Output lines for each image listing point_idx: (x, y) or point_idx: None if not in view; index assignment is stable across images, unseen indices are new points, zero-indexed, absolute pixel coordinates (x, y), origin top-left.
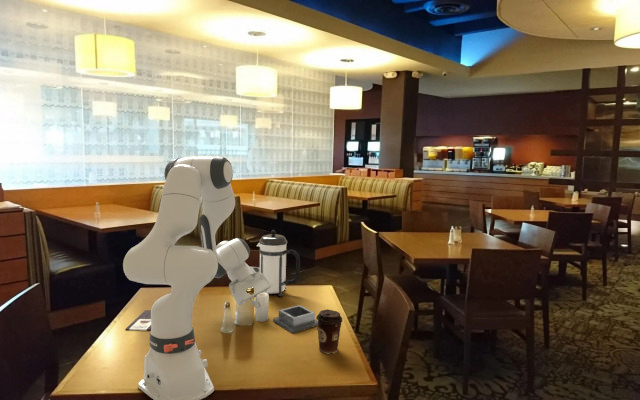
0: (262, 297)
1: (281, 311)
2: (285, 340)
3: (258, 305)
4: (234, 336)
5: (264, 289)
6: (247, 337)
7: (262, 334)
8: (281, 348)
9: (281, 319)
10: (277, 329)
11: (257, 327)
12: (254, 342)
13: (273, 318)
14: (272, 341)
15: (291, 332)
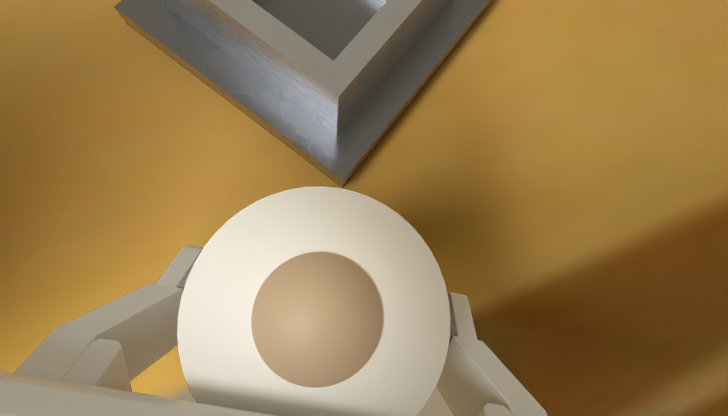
0: (432, 260)
1: (363, 62)
2: (601, 17)
3: (465, 303)
4: (704, 373)
5: (20, 379)
6: (674, 269)
7: (587, 184)
8: (702, 13)
9: (364, 97)
10: (470, 111)
11: (493, 267)
12: (714, 192)
13: (342, 178)
14: (649, 87)
15: (486, 7)
